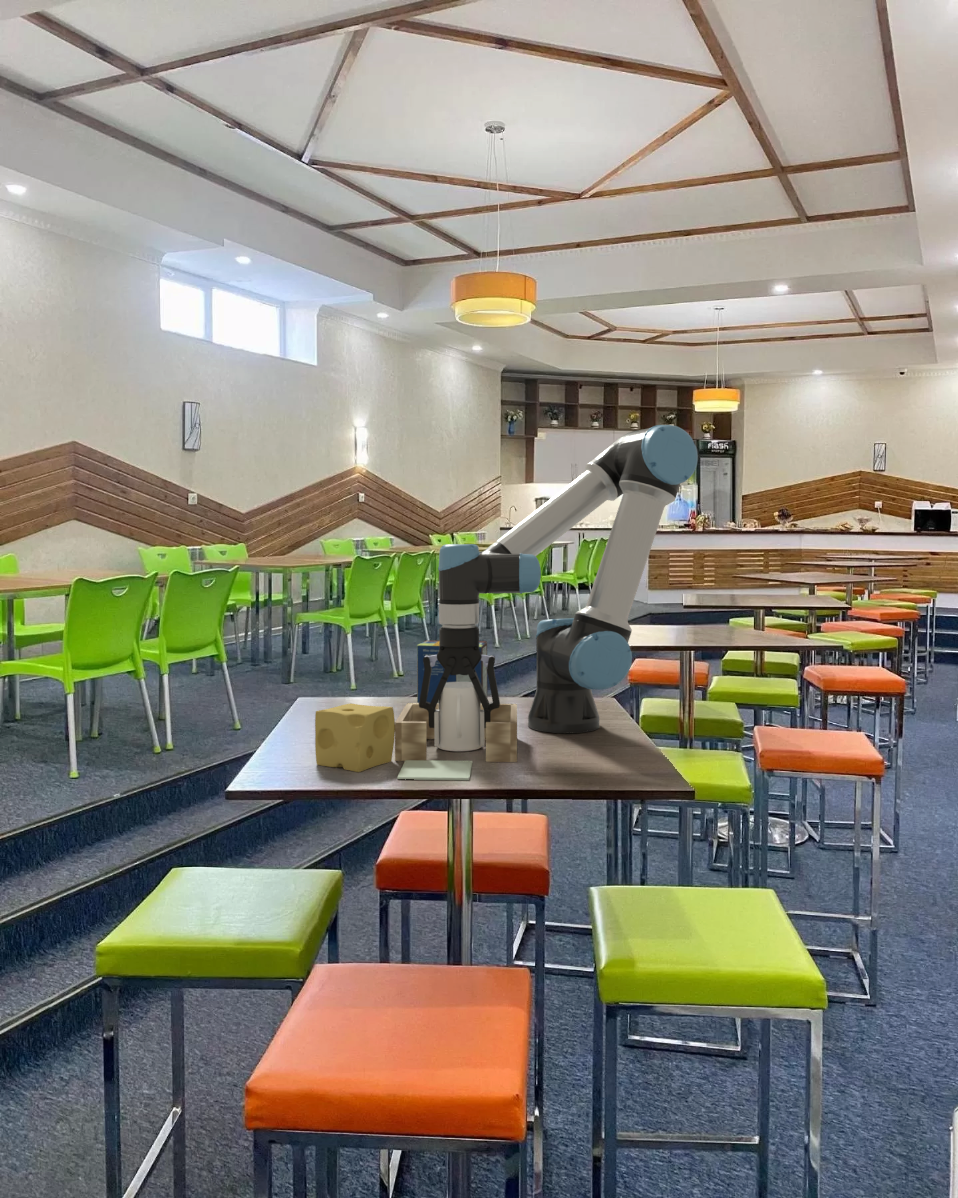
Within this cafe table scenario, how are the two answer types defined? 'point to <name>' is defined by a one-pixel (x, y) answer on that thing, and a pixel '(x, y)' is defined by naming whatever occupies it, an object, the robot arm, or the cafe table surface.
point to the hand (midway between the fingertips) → (459, 744)
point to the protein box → (437, 670)
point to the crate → (416, 731)
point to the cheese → (354, 736)
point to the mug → (459, 717)
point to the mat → (435, 770)
